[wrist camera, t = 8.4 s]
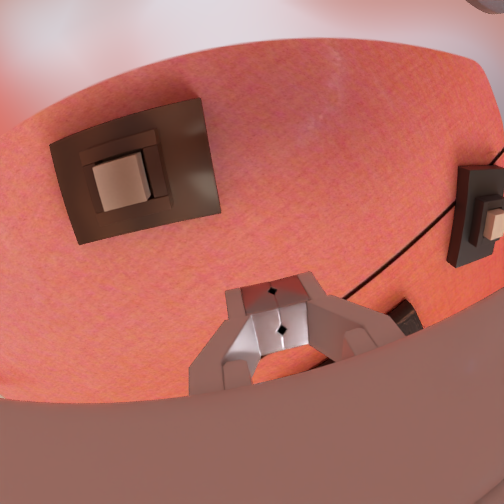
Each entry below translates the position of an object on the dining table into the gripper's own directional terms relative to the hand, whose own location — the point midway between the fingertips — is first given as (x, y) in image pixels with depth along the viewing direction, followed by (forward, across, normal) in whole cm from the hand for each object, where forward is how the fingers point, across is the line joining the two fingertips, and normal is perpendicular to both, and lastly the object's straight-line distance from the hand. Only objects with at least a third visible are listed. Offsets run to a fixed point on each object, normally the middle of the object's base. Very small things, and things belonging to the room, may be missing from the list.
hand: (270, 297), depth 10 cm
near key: (+14, +8, -3) cm, 17 cm away
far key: (+14, -34, +9) cm, 37 cm away
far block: (+18, -34, +8) cm, 39 cm away
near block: (+18, +8, -3) cm, 20 cm away
